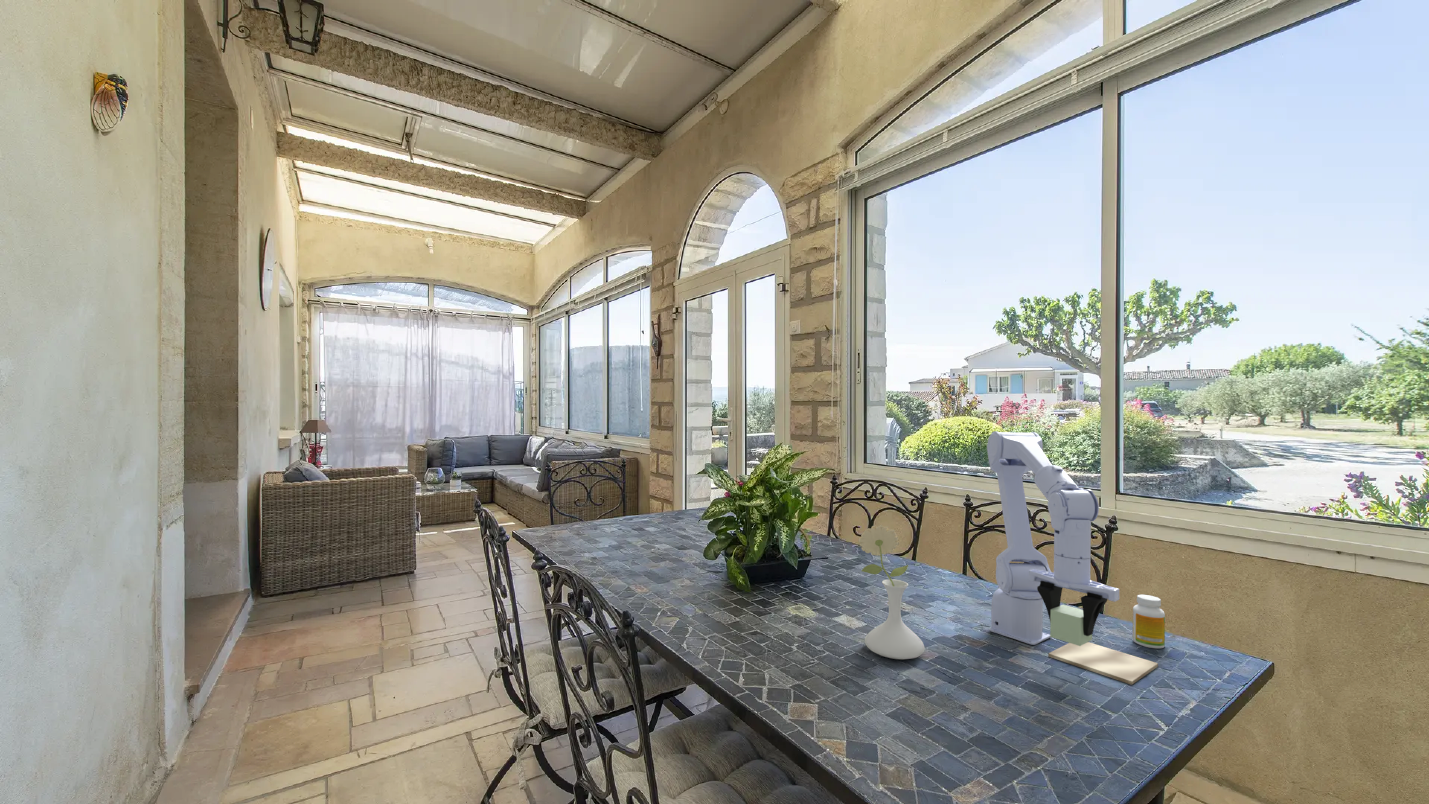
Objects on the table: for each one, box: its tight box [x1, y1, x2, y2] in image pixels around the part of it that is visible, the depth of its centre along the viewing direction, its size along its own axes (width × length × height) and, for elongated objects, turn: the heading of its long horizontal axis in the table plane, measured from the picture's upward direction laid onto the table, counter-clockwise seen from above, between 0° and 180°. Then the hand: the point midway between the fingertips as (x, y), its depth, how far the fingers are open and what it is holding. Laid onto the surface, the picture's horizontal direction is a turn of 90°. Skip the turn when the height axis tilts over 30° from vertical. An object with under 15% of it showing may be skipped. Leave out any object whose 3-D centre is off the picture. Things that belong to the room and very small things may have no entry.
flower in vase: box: [858, 524, 926, 660], centre depth 114 cm, size 13×11×25 cm
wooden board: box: [1048, 641, 1159, 686], centre depth 111 cm, size 14×13×1 cm
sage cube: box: [1049, 604, 1093, 646], centre depth 105 cm, size 5×5×5 cm
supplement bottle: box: [1132, 594, 1166, 649], centre depth 120 cm, size 5×5×10 cm
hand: (1071, 629), depth 105 cm, fingers closed on sage cube, 5 cm apart
